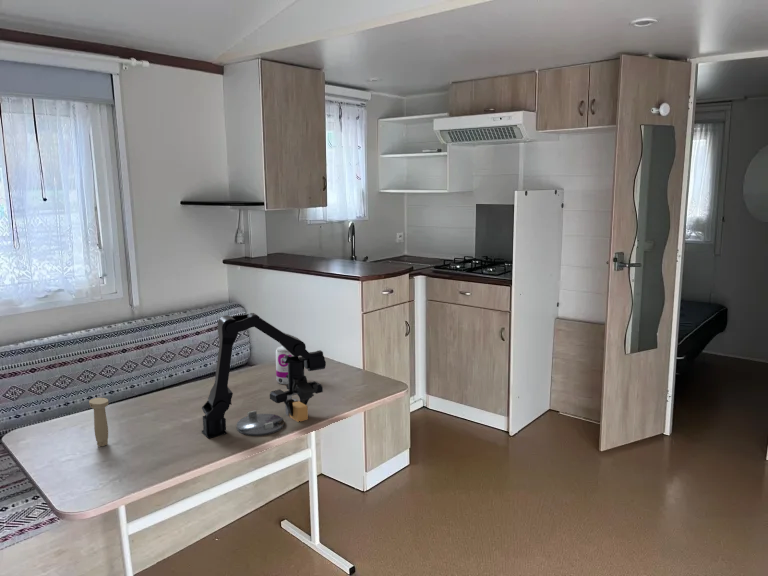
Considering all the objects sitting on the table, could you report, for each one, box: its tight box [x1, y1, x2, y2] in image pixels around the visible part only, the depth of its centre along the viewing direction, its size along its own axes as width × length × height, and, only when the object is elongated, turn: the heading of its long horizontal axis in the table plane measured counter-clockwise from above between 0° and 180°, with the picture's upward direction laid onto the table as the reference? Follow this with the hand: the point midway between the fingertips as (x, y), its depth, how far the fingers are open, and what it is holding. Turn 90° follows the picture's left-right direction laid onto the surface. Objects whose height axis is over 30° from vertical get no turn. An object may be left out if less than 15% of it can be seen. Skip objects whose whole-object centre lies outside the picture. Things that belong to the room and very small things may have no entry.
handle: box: [88, 397, 110, 447], centre depth 189 cm, size 5×6×15 cm
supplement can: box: [275, 345, 293, 385], centre depth 248 cm, size 8×8×15 cm
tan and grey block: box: [284, 398, 309, 423], centre depth 213 cm, size 4×9×5 cm, turn 38°
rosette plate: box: [236, 409, 285, 437], centre depth 205 cm, size 16×16×3 cm
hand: (297, 414), depth 212 cm, fingers closed on tan and grey block, 4 cm apart
